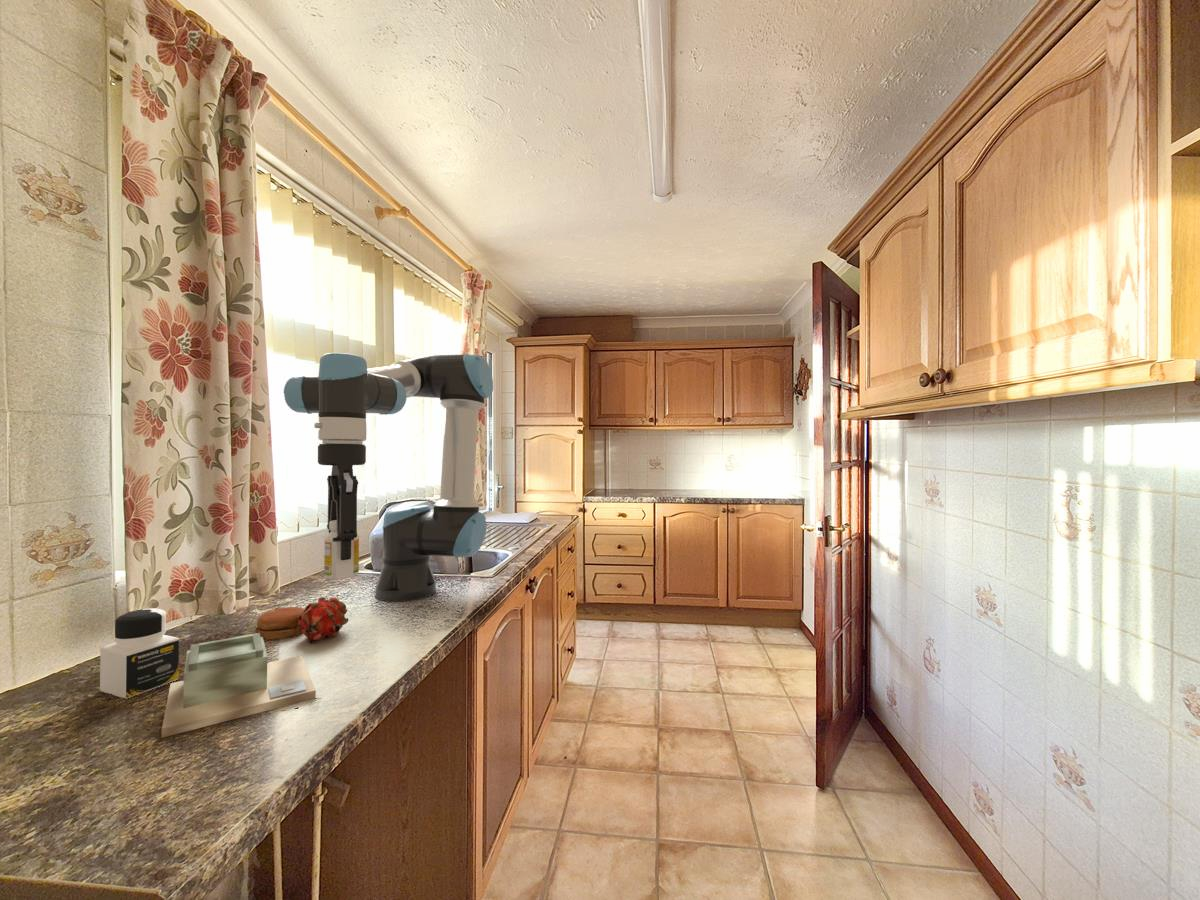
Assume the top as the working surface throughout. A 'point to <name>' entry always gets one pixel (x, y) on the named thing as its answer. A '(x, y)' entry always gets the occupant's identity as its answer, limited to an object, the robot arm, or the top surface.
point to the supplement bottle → (330, 552)
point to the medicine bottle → (139, 655)
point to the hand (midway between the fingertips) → (340, 574)
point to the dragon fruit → (322, 619)
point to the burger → (279, 623)
